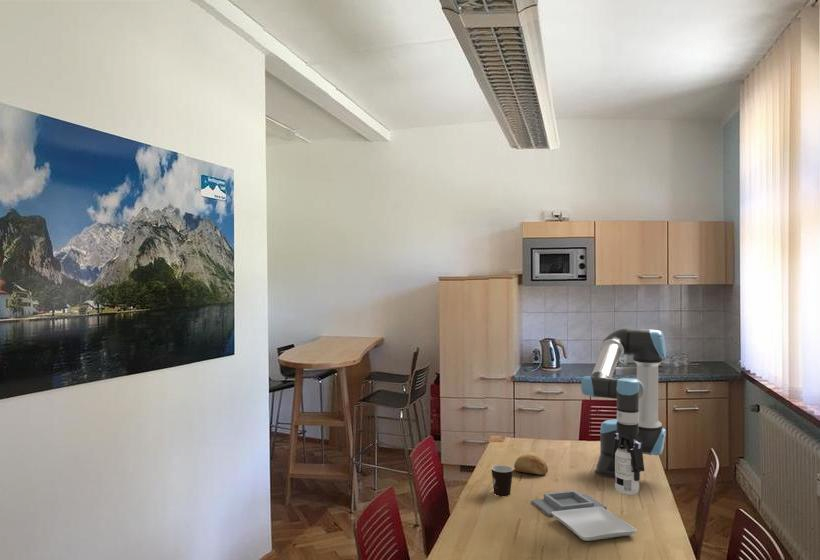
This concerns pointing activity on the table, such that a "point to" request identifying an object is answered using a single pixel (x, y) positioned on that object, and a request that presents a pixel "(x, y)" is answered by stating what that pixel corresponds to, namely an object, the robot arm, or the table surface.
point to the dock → (565, 502)
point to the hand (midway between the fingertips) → (627, 484)
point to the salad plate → (593, 523)
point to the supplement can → (623, 472)
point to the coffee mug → (502, 479)
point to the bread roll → (531, 464)
